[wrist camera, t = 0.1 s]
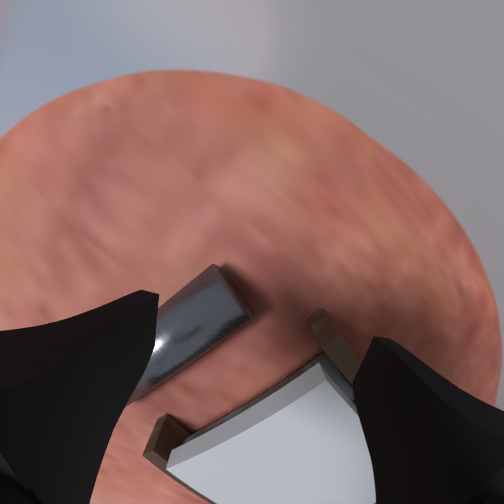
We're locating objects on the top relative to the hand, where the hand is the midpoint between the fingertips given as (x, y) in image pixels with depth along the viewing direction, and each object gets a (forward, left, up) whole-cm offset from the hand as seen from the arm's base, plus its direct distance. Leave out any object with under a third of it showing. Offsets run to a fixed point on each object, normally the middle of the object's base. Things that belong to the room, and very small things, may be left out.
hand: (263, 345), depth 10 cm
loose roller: (-8, +1, -11) cm, 13 cm away
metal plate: (-6, -12, -7) cm, 15 cm away
